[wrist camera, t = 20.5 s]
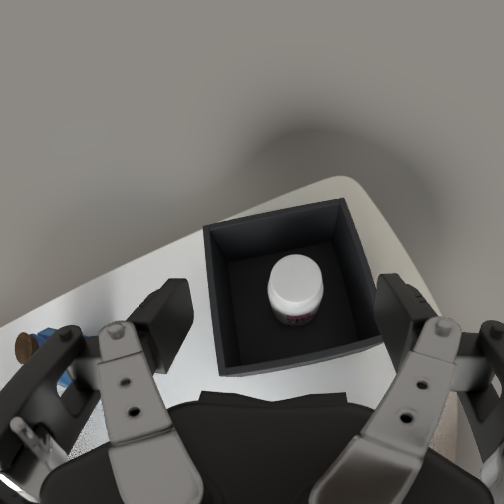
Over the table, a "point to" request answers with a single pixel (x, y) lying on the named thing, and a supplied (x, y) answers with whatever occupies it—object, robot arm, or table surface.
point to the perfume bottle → (31, 344)
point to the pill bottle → (295, 290)
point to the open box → (256, 289)
